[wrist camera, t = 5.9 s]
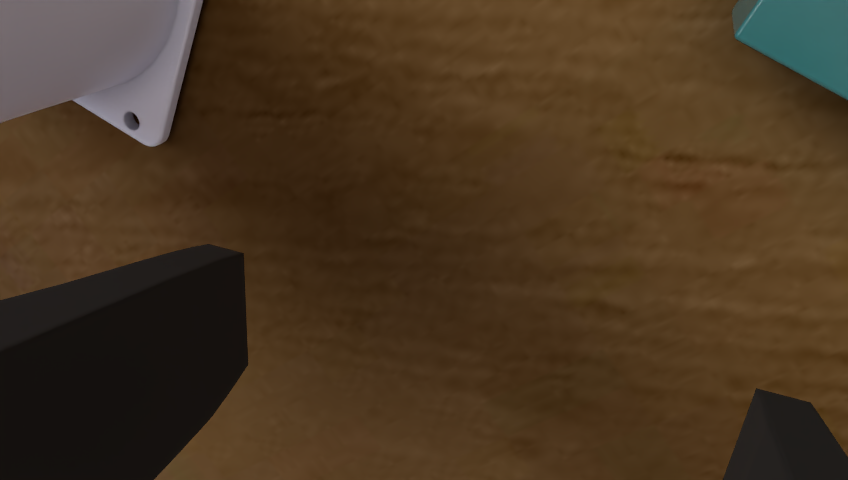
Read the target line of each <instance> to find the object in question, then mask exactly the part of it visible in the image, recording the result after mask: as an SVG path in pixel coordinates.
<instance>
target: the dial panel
mask: <svg viewBox="0 0 848 480" xmlns="http://www.w3.org/2000/svg"><path fill="white" fill-rule="evenodd" d="M732 19H733V28H734V37H735V38H736V40H738V41H740V42H741V43H743V44H745V45H747V46H749V47H751V48H752V49H754V50H756V51H758V52H760V53H762V54H763V55H765V56H767V57H769V58H771V59H773V60H774V61H776V62H778V63H780V64H782V65H784V66H785V67H787V68H789V69H791V70H793V71H795V72H796V73H798V74H800V75H802V76H804V77H806V78H807V79H809V80H811V81H813V82H815V83H817V84H818V85H820V86H822V87H824V88H826V89H828V90H829V91H831V92H833V93H835V94H837V95H839V96H840V97H842V98H844V99H846V100H848V0H739V1H738V2H737V3H736V5H735V6H734V8H733V9H732Z"/></svg>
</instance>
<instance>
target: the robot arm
mask: <svg viewBox="0 0 848 480" xmlns="http://www.w3.org/2000/svg"><path fill="white" fill-rule="evenodd" d="M202 3H203V0H0V123H1V122H4V121H7V120H10V119H14V118H17V117H20V116H23V115H26V114H29V113H32V112H35V111H38V110H42V109H45V108H48V107H51V106H54V105H57V104H60V103H63V102H66V101H70V100H73V101H74V102H76V103H78V104H79V105H81V106H82V107H84V108H86V109H87V110H89V111H91V112H92V113H94V114H95V115H97V116H99V117H100V118H102V119H103V120H105V121H107V122H108V123H110V124H112V125H113V126H115V127H116V128H118V129H120V130H121V131H123V132H124V133H126V134H128V135H129V136H131V137H133V138H134V139H136V140H137V141H139V142H141V143H142V144H144V145H146V146H149V147H155V146H157V145H160V144H162V143H163V142H165V141H166V140H167V139H168V137H169V134H170V130H171V126H172V122H173V118H174V114H175V110H176V106H177V102H178V98H179V94H180V90H181V86H182V82H183V78H184V74H185V70H186V67H187V63H188V59H189V55H190V51H191V47H192V43H193V39H194V35H195V31H196V27H197V23H198V19H199V15H200V11H201V7H202ZM133 113H134V114H135V115H136V116H137V118H138V120H139V124H137V123H136V121H135V119H134V116H133ZM247 366H248V349H247V325H246V301H245V276H244V253H241V252H237V251H233V250H229V249H225V248H222V247H218V246H214V245H210V244H207V245H201V246H196V247H191V248H187V249H183V250H179V251H175V252H171V253H167V254H163V255H160V256H156V257H153V258H149V259H146V260H142V261H139V262H135V263H132V264H129V265H125V266H122V267H119V268H115V269H112V270H108V271H105V272H102V273H98V274H95V275H91V276H88V277H85V278H81V279H78V280H74V281H71V282H68V283H64V284H61V285H57V286H53V287H49V288H45V289H42V290H38V291H34V292H30V293H27V294H23V295H19V296H15V297H11V298H8V299H4V300H0V480H154V479H155V478H156V477H157V476H158V475H159V474H160V472H161V471H162V470H163V469H164V468H165V467H166V466H167V465H168V464H169V463H170V462H171V461H172V460H173V459H174V458H175V457H176V455H177V454H178V453H179V452H180V451H181V450H182V449H183V448H184V447H185V446H186V445H187V443H188V442H189V441H190V440H191V439H192V438H193V437H194V436H195V435H196V434H197V433H198V432H199V430H200V429H201V428H202V427H203V426H204V425H205V424H206V423H207V422H208V420H209V419H210V418H211V417H212V416H213V414H214V413H215V412H216V410H217V409H218V407H219V406H220V405H221V403H222V402H223V401H224V399H225V398H226V397H227V395H228V394H229V392H230V391H231V389H232V388H233V386H234V385H235V383H236V382H237V380H238V379H239V377H240V376H241V374H242V373H243V371H244V370H245V368H246V367H247ZM723 480H848V457H847V455H846V454H845V453H844V451H843V450H842V448H841V447H840V445H839V444H838V442H837V441H836V439H835V438H834V436H833V435H832V433H831V432H830V430H829V429H828V427H827V426H826V424H825V423H824V421H823V420H822V418H821V417H820V415H819V414H818V412H817V411H816V410H815V408H814V407H813V405H812V404H811V403H810V402H806V401H802V400H798V399H795V398H791V397H787V396H783V395H779V394H776V393H772V392H768V391H764V390H760V389H757V388H756V391H755V394H754V396H753V399H752V402H751V404H750V407H749V410H748V413H747V415H746V418H745V421H744V424H743V426H742V429H741V432H740V434H739V437H738V440H737V443H736V445H735V448H734V451H733V454H732V456H731V459H730V462H729V464H728V467H727V470H726V473H725V475H724V478H723Z"/></svg>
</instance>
